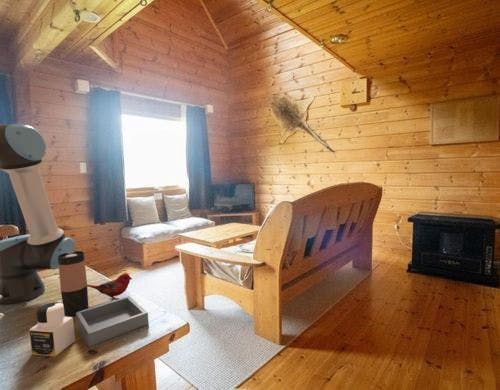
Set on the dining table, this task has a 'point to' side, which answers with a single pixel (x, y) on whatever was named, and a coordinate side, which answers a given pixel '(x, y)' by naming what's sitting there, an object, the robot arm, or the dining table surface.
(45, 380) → the dining table surface
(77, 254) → the travel mug
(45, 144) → the robot arm
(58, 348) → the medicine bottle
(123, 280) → the decorative bird figurine
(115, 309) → the open-top bin
